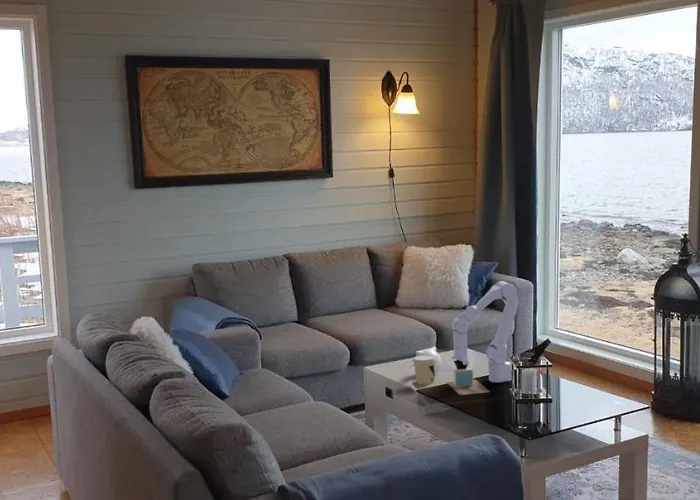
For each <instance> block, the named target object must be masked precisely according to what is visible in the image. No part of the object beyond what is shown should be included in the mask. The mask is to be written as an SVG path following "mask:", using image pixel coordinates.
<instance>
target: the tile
mask: <svg viewBox="0 0 700 500" xmlns="http://www.w3.org/2000/svg"><path fill="white" fill-rule="evenodd" d="M473 380H474V369H473V368H471V367H470V368H469V367H467V368H466V369H457V368H456V369H453V382H454V386H455V387H458V386H468V385H473Z"/></svg>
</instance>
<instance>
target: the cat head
mask: <svg viewBox="0 0 700 500" xmlns="http://www.w3.org/2000/svg"><path fill="white" fill-rule="evenodd" d="M423 355H429V356H433V357H434V358H435V375H436V374H437V373H438V372H439V371H440V369H441V367H442V358H441V356H440V354H439V352H438V351H437V347H436V346H433V347H430V348H425V349H422V350H416V351H415V357H417V356H423ZM411 363H414V358H413V359H412V360H411V361H410V362H409V364H411ZM411 367H415V366H414V364H412V365H411V366H410V368H411Z"/></svg>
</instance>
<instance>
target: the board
mask: <svg viewBox="0 0 700 500" xmlns="http://www.w3.org/2000/svg"><path fill="white" fill-rule="evenodd" d="M446 383H447V384H448V385H449V387H450V388H452V389H453V390H454V391H455V392H456V393H457V394H458V395H459V396H464V395H474V394H484V393H491V391H490V390H488V389H487V388H486V387H485V386H484V385H483V384H482V383H481V382H480V381H478V380H477V379H473V385H468V386H458V387H455V386H454V381H448V382H446Z"/></svg>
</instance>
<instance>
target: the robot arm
mask: <svg viewBox="0 0 700 500" xmlns="http://www.w3.org/2000/svg"><path fill="white" fill-rule="evenodd" d="M518 297H519V296H518V289H517V287H516V286H515V285H514V284H513V283H509V282H506V281H504V280H499V281H497V282H495V284H494V285H492V286H491V288H490V289H489V290H488V291H487V292H486V293H485V295H483V297H482V298H480V299H479V301H478V302H477V303H475V305H470V306H467V307H466V308H465V310H464V311H463V312H462V313H461V314H459V315H458V317H456V318H453V319H452V321H451V324H450V328H451V330H452V334H453V336H452V338H453V341H452V342H453V356H451V359H452V360H453V363H454V365H455V367H456V370H457V369H468V366H469V355H468V336H467V331H468V330H469V328H470V327H469V326H470V325H471V324H472V323H473V322H475V321H476V320H477V319H478V318H480V316H481V312H482V311H483V309H485V308H486V307H487V306H488V305H490V304H491V303H492V302H493V301H495V300H500V299H501V300H502V302H504V308H503V311H502V313H501V314H502V315H501V318H500V320H499V324H498V326H497V329H496V333H495V336H494V338H493V340H492V341H491V342H490V344H489V346H488V347H487V348H486V350H485V355H486V357H487V359H488V362H487V363H488V381H489V382H491V383H504V382H509V381H511V380H512V381H513V379H512V378H513V377H512V366H511V362H509V361H507V358H508V353H507V351H508V343H507V342H508V339H509V336H510V334H511V333H510V332H511V329H512V326H513V324H514V320H515V318H516V317H515V316H516V315H517V311H518V308H519V298H518Z"/></svg>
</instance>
